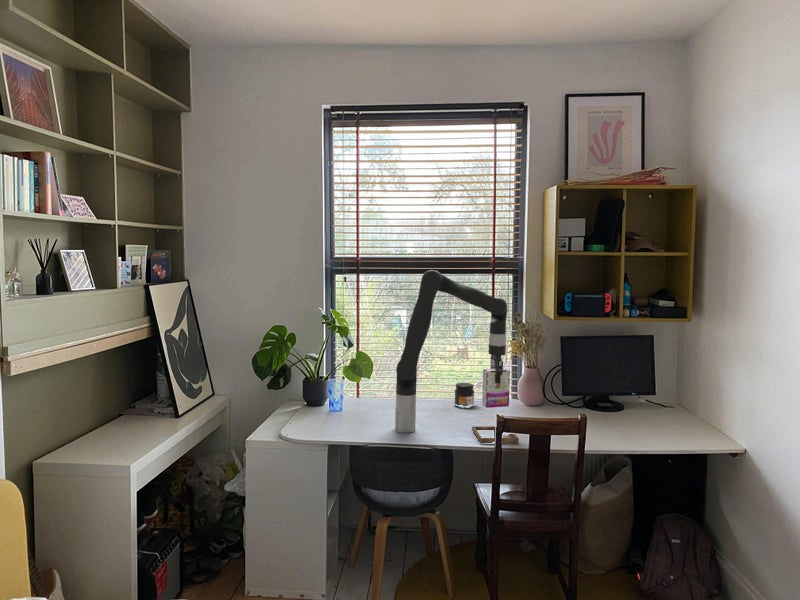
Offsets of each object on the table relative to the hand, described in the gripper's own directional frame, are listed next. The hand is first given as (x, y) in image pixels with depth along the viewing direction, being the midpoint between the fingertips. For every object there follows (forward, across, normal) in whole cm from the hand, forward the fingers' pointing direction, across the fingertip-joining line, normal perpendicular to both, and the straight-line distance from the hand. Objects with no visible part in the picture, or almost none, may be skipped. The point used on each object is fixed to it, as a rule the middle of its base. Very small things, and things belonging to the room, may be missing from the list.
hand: (495, 381), depth 243 cm
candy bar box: (+11, 0, 0) cm, 11 cm away
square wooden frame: (+25, 0, 0) cm, 25 cm away
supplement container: (+26, -52, -4) cm, 58 cm away
